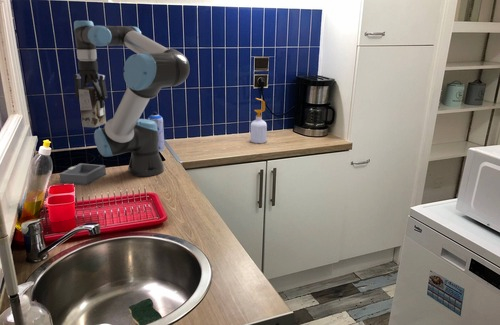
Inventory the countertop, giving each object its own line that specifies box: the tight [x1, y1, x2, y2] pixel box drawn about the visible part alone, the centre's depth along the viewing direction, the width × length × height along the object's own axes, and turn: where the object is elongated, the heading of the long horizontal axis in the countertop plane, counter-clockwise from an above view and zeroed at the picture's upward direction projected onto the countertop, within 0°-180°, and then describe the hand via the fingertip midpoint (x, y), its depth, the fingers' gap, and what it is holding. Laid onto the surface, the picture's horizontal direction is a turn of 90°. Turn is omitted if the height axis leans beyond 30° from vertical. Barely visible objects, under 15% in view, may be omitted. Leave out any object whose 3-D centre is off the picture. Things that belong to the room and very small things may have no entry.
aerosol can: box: [147, 111, 166, 153], centre depth 211 cm, size 8×8×20 cm
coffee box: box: [78, 86, 107, 128], centre depth 175 cm, size 9×6×16 cm
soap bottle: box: [250, 97, 268, 144], centre depth 228 cm, size 9×9×25 cm
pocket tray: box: [59, 162, 107, 186], centre depth 171 cm, size 12×14×4 cm
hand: (93, 114), depth 176 cm, fingers closed on coffee box, 6 cm apart
